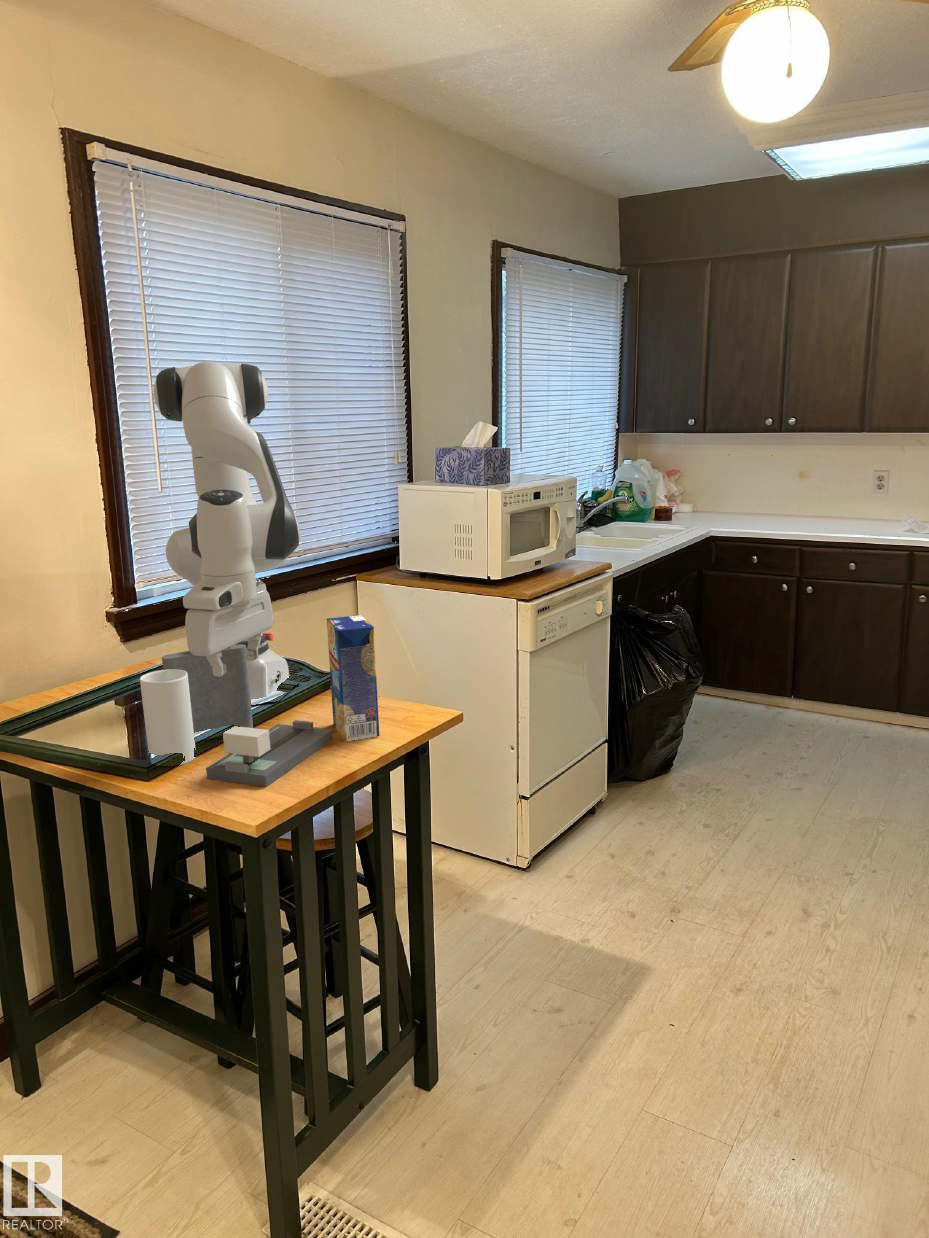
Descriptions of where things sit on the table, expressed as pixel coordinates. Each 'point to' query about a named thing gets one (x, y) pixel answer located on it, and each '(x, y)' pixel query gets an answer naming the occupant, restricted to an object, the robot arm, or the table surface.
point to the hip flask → (216, 688)
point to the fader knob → (246, 742)
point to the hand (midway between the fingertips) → (236, 667)
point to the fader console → (272, 755)
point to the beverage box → (353, 677)
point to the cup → (168, 713)
